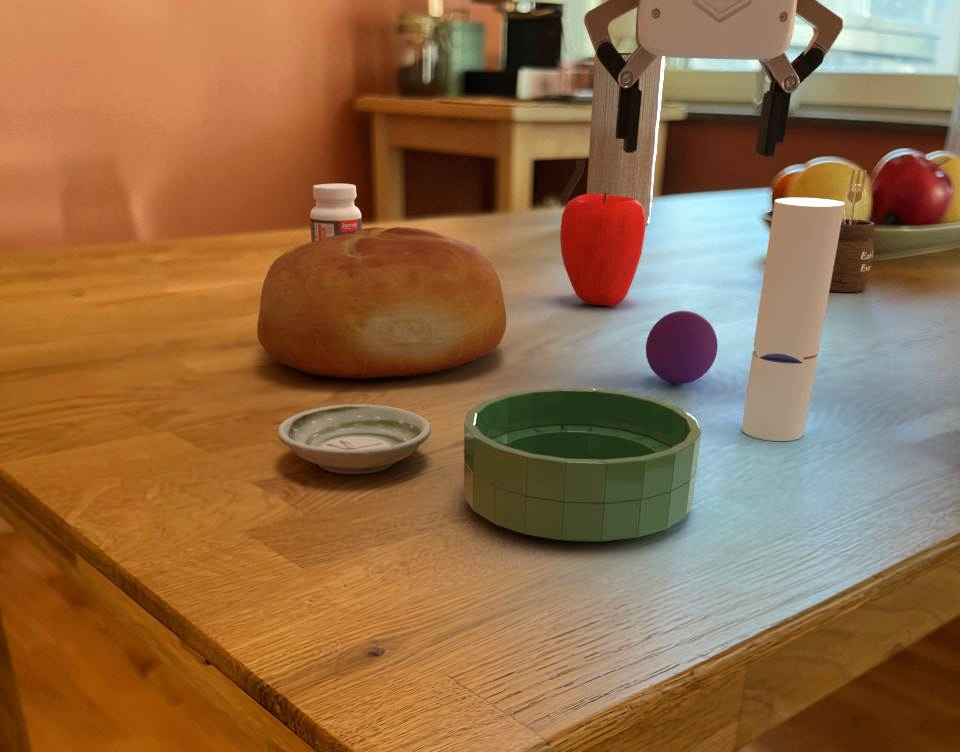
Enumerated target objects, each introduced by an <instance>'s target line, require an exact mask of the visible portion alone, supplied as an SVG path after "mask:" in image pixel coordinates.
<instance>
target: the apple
mask: <svg viewBox="0 0 960 752" xmlns="http://www.w3.org/2000/svg"><path fill="white" fill-rule="evenodd" d="M645 218H646V217H645V213H644V209H643V206H642V205H641V203H640V202H638V201H637V200H636V199H634V198H631V197H621V196H611V195H607V193H604V195H602V194H587V193H584V194H580V195H578V196H576V197H574V198H572V199H571V200H569V201H568V202H567V204H566V205H565V208H564V210H563V211H562V214H561V220H560V221H561V222H560V236H559V240H560V241H559V243H560V253H561V258H562V263H563V267H564V269H565V271H566V274H567V277H568V279H569V282H570V284H571V287H572V289H573V291H574V294H575V295H576V296H577V297H578V298H579V299H580V300H581V301H582V302H584V303H586V304H589V305H593V306H604V307H615V306H617V305H619V304H621V303H622V302H624V300H625V298H626V297H627V295H628V293H629V290H630V288H631V285H632V283H633V280H634V278H635V276H636V273H637V270H638V267H639V263H640V259H641V256H642V253H643V247H644V246H643V245H644V240H645V236H646V235H645V234H646V225H645Z"/></svg>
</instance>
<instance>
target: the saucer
mask: <svg viewBox="0 0 960 752" xmlns="http://www.w3.org/2000/svg"><path fill="white" fill-rule="evenodd" d="M431 431H432V427H431V424H430V422H429V421H428V420H427V419H426V418H425V417H423V416H422V415H420V414H417V413H415V412H413V411H411V410H407V409H403V408H399V407H394V406H388V405H381V404H365V403H351V404H349V403H347V404H337V405H330V406H322V407H317V408H312V409H308V410H304V411H302V412H298V413H296V414H294V415H292V416H290V417H288V418H286V419H285V420H283V421H282V422H281V423H280V424H279V425H278V427H277V437H278V440H279V441H280V443H282V444H283V445H284V446H286V447H287V448H289V449H290V450H291V451H292V452H293V453H295V455H297V456H298V457H300V458H302V459H304V460H306V461H307V462H310V463H313V464H316V465H318V466H319V467H320V468H321V469H323V470H325V471H327V472H331V473H333V474H340V475H341V474H343V475H366V474H372V473H373V474H374V473H377V472H378V473H379V472H381V471H384V470H387V469H388V468H390V467H392V466H393V465H395V463H396V462H399V461H401V460H403V459H406V458H407V457H409V456H410V455H412V454H413V453H415V451H416V450H417V449H418V448H420V447H421V445H422V444H424V443H425V442H426V441H428V439H429V438H430V436H431Z"/></svg>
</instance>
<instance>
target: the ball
mask: <svg viewBox="0 0 960 752" xmlns="http://www.w3.org/2000/svg"><path fill="white" fill-rule="evenodd" d="M718 346H719V345H718V337H717V334H716V331H715V329H714V327H713V325H712V324H711V323H710V321H709V320H707V318H706V317H704V316H703V315H702V314H699V313H697V312H694V311H691V310H678V311H673V312H670V313H667V314H666V315H663V316H662V317H661V318H660V319H658V321H656V323H654V325H653V326H652V328H651V329H650V331H649V333H648V335H647V338H646V343H645V356H646V360H647V361H646V362H647V363H648V365H649V367H650V369H651V370H652V372H653V373H654V374H655V375H656V376H657V377H658V378H660V379H661V380H663V381H664V382H666V383H670V384H674V385H685V384H689V383H693V382H695V381H697V380H699V379H701V378H702V377H704V376H705V375H706V374H707V372H709V370H710V369H711V367H712V366H713V364H714V362H715V360H716V358H717V354H718Z"/></svg>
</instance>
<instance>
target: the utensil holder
mask: <svg viewBox="0 0 960 752" xmlns="http://www.w3.org/2000/svg"><path fill="white" fill-rule="evenodd" d="M861 172H862V170H861V169H858V170H857V175H856V180H855V173H856V170H855V168H854V169H852V170H851V175H850V181H849V185H848V187H847V188H846V190H844V193H843V195H842V200H841V202H843V203H845V205H844V211H843V218H842V222H841V227H840V233H839V239H838V244H837V250H836V256H835V261H834V267H833V273H832V278H831V284H830V290H829V292H834V293H858V292H862V291H864V290H865V289H866V288H867V285H868V281H869V277H870V274H871V273H870V272H871V269H872V268H871V267H872V262H873V257H874V250H875V245H874V244H875V243H874V241H873V240H872V239H871V237H873V236H874V234H875V223H874V222H873V221H869V220H864V219H861V216H862V214H863V212H864V210H865V207H862V203H863V196H864V195H863V194H864V193H865V197H864V200H866V199H867V192H866V189H865V183H866V177H867V173H868V171H867V169H864V170H863V173H862V179H861V184H860V178H861ZM854 180H855V183H854ZM853 188H854V190H853ZM859 188H860V190H859ZM845 195H846V196H845ZM844 198H845V201H844ZM847 200H848V201H849V202H850V203H851V208H850V212H849V213H850V214H849V218H846V204H847ZM858 202H860V206H859V209H858V211H857V214H856V217H855V219H854V213H855V207H856V204H857V203H858ZM863 204H864V205H863V206H865V205H866V202H864V203H863ZM861 209H862V212H861ZM859 215H860V216H859Z"/></svg>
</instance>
